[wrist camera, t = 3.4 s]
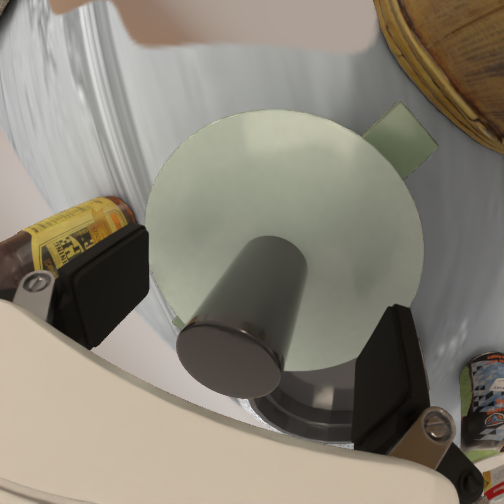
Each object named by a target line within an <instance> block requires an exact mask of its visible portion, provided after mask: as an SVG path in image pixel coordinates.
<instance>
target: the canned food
mask: <svg viewBox="0 0 504 504" xmlns="http://www.w3.org/2000/svg"><path fill="white" fill-rule="evenodd" d="M483 479H484V495H486V497H487V499H488V501H489V503H490V504H493V503H496V502H499V501H501V500H503V499H504V465H502V466H500V467H498V468H495V469H493V470H490V471H486V472H483Z"/></svg>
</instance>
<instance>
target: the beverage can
mask: <svg viewBox="0 0 504 504" xmlns="http://www.w3.org/2000/svg"><path fill="white" fill-rule="evenodd" d="M459 381H460V398H461V446H460V450H461V451H462V452H463V453H464V454H465V455H466V456H467V458H468V459H469V460H470V461H471V462H472V463H473V464H474V465H475V466H476V467H477V468H478V469H479V471H480V472H481V473H482V472H486V471H490V470H493V469H495V468H498V467H500V466H502V465H504V354H503V353H499V352H487V353H484V354H481V355H479V356H477V357H476V358H474V359H473V360H472V361H470V362H469V363H468V364H467V365H466V366H465V367H464V369H463V370H462V372H461V374H460V377H459Z"/></svg>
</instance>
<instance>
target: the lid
mask: <svg viewBox="0 0 504 504" xmlns="http://www.w3.org/2000/svg"><path fill="white" fill-rule="evenodd" d="M144 226H145V227H146V230H147V231H148V232H149V264H150V268H151V271H152V274H153V276H154V279H155V281H156V283H157V286H158V288H159V289H160V291H161V293H162V295H163V296H164V298H165V300H166V301H167V303H168V304H169V306H170V307H171V308H172V310H173V311H174V313H175V314H176V315H177V316H178V317H179V318H180V319H181V321H182V322H183V323H184V324H185V326H184V327H183V328H182V330H181V331H180V333H179V335H178V337H177V342H176V350H177V354H178V357H179V360H180V361H181V363H182V365H183V366H184V368H185V369H186V370H187V371H188V373H189V374H190V375H191V376H192V377H193V378H195V379H196V380H197V381H198V382H200V383H201V384H202V385H204V386H206V387H207V388H209V389H211V390H213V391H215V392H218V393H220V394H223V395H226V396H230V397H234V398H242V399H252V398H258V397H262V396H265V395H267V394H269V393H271V392H272V391H273V390H274V389H275V388H276V387H277V386H278V385H279V383H280V381H281V378H282V375H283V372H284V371H311V370H319V369H324V368H329V367H333V366H337V365H340V364H342V363H345V362H348V361H351V360H353V359H355V358H357V357H358V356H359V354H360V353H361V351H362V350H363V348H364V346H365V345H366V343H367V341H368V340H369V338H370V336H371V335H372V333H373V331H374V330H375V328H376V326H377V324H378V323H379V321H380V319H381V317H382V315H383V314H384V312H385V310H386V308H387V307H388V306H391V307H392V306H393V305H394V304H395V303H396V304H399V305H402V306H406V307H409V308H410V306H411V304H412V302H413V299H414V297H415V295H416V293H417V289H418V286H419V283H420V280H421V275H422V269H423V262H424V238H423V232H422V226H421V221H420V217H419V214H418V211H417V208H416V205H415V202H414V200H413V198H412V196H411V194H410V192H409V190H408V188H407V186H406V184H405V182H404V181H403V179H402V178H401V176H400V175H399V174H398V172H397V171H396V170H395V168H394V167H393V166H392V164H391V163H390V162H389V161H388V160H387V159H386V158H385V157H384V156H383V155H382V154H381V153H380V152H379V151H378V150H377V149H376V148H375V147H374V146H373V145H372V144H370V143H369V142H367V141H366V140H365V139H363V138H362V137H361V136H359V135H358V134H356V133H355V132H353V131H351V130H349V129H347V128H345V127H344V126H342V125H340V124H338V123H336V122H334V121H331V120H328V119H325V118H322V117H319V116H316V115H313V114H309V113H304V112H298V111H291V110H256V111H249V112H243V113H239V114H236V115H232V116H229V117H226V118H223V119H220V120H218V121H216V122H214V123H212V124H210V125H208V126H206V127H204V128H202V129H201V130H199V131H198V132H196V133H195V134H194V135H192V136H191V137H189V138H188V139H187V140H186V141H185V142H184V143H182V144H181V145H180V146H179V147H178V148H177V149H176V150H175V151H174V152H173V154H172V155H171V156H170V157H169V159H168V160H167V161H166V163H165V164H164V165H163V167H162V169H161V171H160V172H159V174H158V176H157V178H156V180H155V182H154V184H153V187H152V190H151V192H150V195H149V199H148V203H147V208H146V213H145V225H144Z"/></svg>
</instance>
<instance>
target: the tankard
mask: <svg viewBox="0 0 504 504" xmlns="http://www.w3.org/2000/svg"><path fill="white" fill-rule="evenodd" d="M373 2H374V5H375V9H376V12H377V15H378V19H379V24H380V29H381V31H382V33H383V35H384V37H385V39H386V41H387V44H388V46H389V49H390V51H391V52H392V53H393V54H394V55H395V57H396V59H397V61H398V63H399V65H400V66H401V67H402V68H403V70H404V71H405V72H406V74H407V75H408V76H409V77H410V79H411V80H412V81H413V82H414V83H415V84H416V86H417V87H418V88H419V89H420V90H421V92H422V93H423V94H424V95H425V96H426V97H427V98H428V99H429V101H430V102H431V103H432V104H434V105H435V106H436V107H437V108H438V109H439V110H440V111H441V112H442V113H443V114H444V115H445V116H446V117H448V118H449V119H450V120H451V121H452V122H453V123H454V124H455V125H456V126H458V127H459V128H460V129H461V130H463V131H464V132H465V133H466V134H468V135H469V136H470V137H471V138H473V139H474V140H475V141H477V142H479V143H480V144H482V145H483V146H485V147H487V148H490V149H492V150H494V151H496V152H499V153H501V154H503V155H504V0H373Z"/></svg>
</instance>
